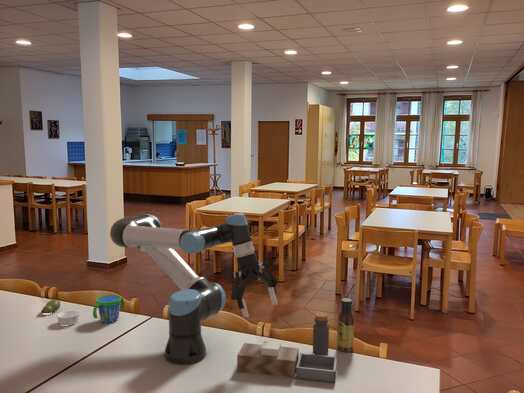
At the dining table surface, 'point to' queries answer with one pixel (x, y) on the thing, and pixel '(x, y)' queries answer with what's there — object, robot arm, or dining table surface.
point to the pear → (51, 306)
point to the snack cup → (108, 307)
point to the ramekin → (68, 317)
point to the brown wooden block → (267, 361)
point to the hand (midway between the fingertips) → (261, 310)
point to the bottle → (320, 334)
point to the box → (316, 368)
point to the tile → (271, 348)
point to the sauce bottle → (345, 327)
